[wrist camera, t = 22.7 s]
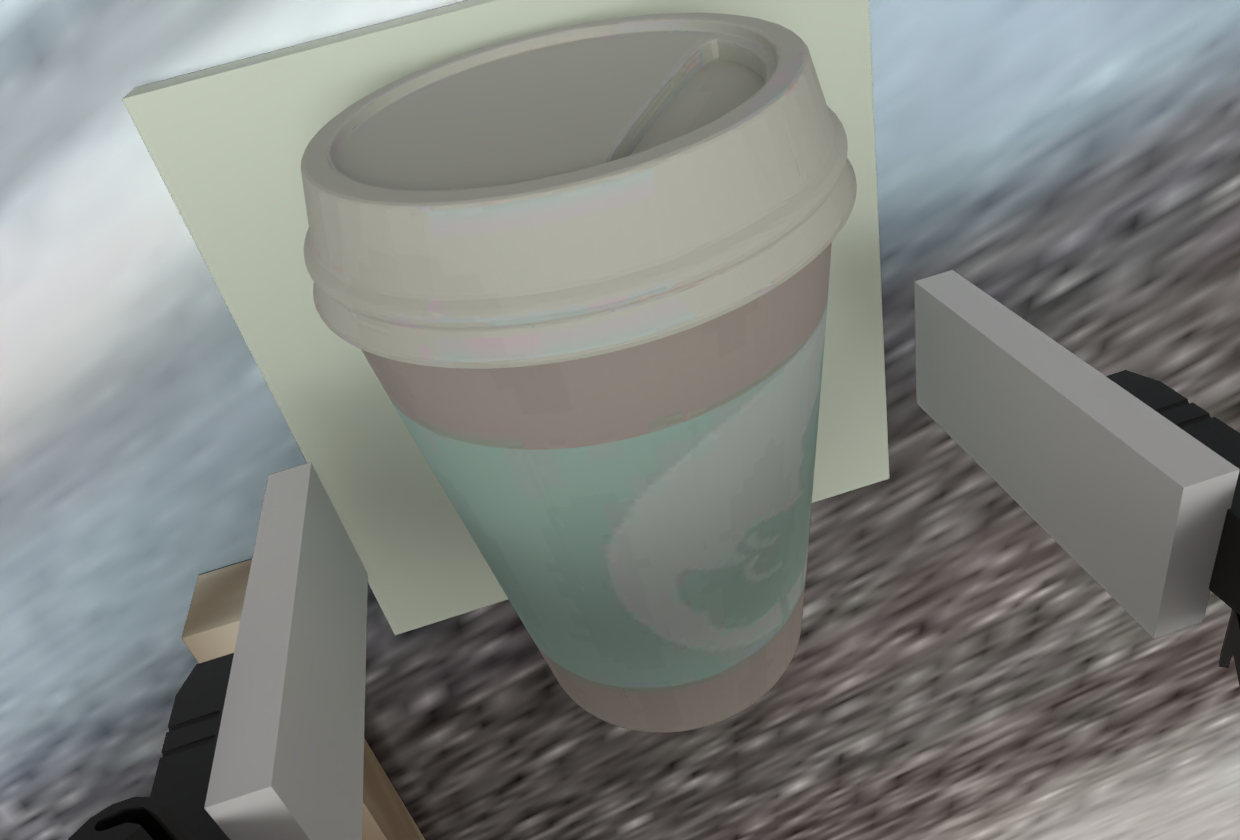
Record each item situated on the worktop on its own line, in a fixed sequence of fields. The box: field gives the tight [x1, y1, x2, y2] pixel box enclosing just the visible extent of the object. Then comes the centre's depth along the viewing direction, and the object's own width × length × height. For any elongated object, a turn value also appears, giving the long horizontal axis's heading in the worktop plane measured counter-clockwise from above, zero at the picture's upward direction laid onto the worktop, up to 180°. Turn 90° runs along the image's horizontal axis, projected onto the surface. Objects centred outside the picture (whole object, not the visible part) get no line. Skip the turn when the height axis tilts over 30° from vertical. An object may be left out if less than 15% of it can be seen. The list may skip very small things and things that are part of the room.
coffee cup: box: [301, 12, 857, 733], centre depth 16 cm, size 9×9×12 cm
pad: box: [122, 0, 889, 635], centre depth 20 cm, size 14×14×1 cm
